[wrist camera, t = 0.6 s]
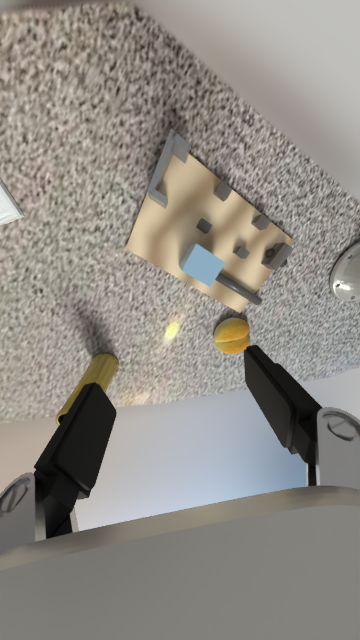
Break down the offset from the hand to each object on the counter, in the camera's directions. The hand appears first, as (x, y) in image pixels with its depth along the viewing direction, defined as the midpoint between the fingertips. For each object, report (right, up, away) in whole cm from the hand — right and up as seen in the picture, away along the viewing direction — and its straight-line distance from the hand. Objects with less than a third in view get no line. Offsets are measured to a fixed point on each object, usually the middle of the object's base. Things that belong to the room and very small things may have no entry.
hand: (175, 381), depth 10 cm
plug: (+9, +12, +20) cm, 25 cm away
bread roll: (+12, +1, +27) cm, 30 cm away
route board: (+6, +18, +18) cm, 26 cm away
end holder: (-1, +25, +13) cm, 28 cm away
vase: (-18, -7, +28) cm, 34 cm away
